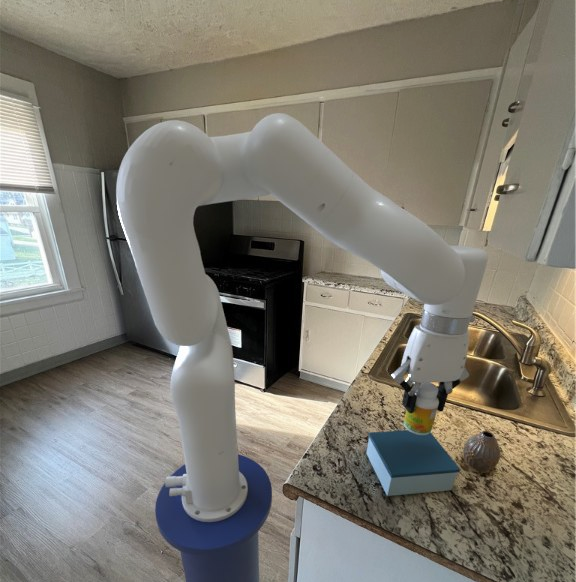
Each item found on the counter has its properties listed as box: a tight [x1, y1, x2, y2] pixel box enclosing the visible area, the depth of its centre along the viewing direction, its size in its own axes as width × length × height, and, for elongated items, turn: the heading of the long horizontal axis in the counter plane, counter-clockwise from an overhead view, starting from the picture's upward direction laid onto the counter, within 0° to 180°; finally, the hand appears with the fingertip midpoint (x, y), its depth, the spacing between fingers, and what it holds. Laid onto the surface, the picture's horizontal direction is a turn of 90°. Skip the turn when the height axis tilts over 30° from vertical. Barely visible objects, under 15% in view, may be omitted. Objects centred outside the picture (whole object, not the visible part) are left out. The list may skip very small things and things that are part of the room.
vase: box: [462, 430, 501, 472], centre depth 69 cm, size 7×7×9 cm
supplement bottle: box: [403, 382, 439, 435], centre depth 62 cm, size 5×5×10 cm
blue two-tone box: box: [366, 429, 462, 497], centre depth 68 cm, size 14×12×6 cm
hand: (422, 407), depth 62 cm, fingers closed on supplement bottle, 5 cm apart
